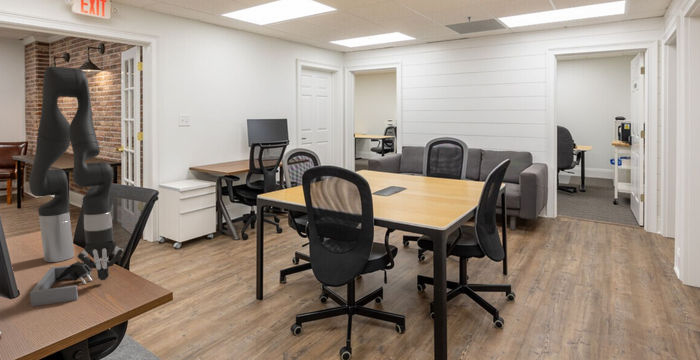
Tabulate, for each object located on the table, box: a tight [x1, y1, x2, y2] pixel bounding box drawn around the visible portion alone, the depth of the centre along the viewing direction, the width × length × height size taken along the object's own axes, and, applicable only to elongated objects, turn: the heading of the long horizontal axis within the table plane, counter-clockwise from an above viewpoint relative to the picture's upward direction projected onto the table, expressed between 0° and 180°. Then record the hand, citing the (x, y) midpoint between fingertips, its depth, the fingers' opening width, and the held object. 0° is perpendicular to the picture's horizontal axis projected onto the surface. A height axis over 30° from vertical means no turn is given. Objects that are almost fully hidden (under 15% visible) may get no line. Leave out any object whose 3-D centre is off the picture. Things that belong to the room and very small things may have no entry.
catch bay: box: [29, 264, 92, 307], centre depth 130 cm, size 21×11×4 cm, turn 22°
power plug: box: [55, 261, 93, 285], centre depth 135 cm, size 6×8×12 cm
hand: (103, 279), depth 134 cm, fingers closed
